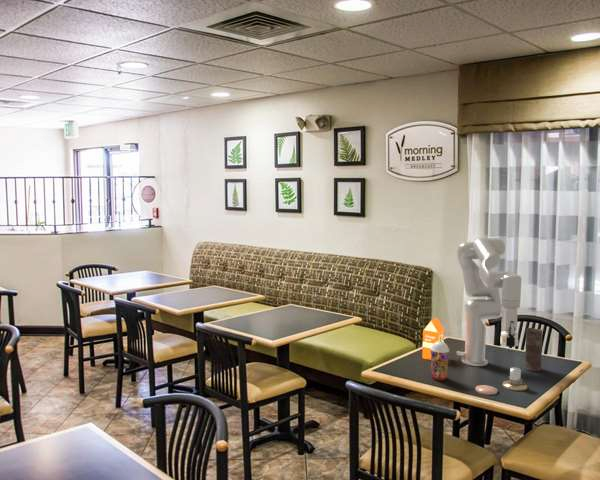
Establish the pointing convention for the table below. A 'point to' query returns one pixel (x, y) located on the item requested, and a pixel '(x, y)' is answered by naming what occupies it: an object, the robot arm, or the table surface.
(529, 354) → the candle
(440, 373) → the smoothie
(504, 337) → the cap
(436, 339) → the orange juice
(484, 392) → the coaster
